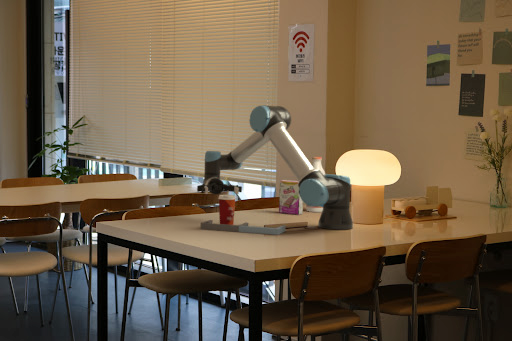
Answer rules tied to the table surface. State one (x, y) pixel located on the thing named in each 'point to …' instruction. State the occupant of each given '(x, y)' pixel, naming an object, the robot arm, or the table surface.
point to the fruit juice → (318, 166)
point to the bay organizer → (242, 228)
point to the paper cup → (226, 209)
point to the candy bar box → (290, 198)
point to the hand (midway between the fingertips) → (222, 190)
